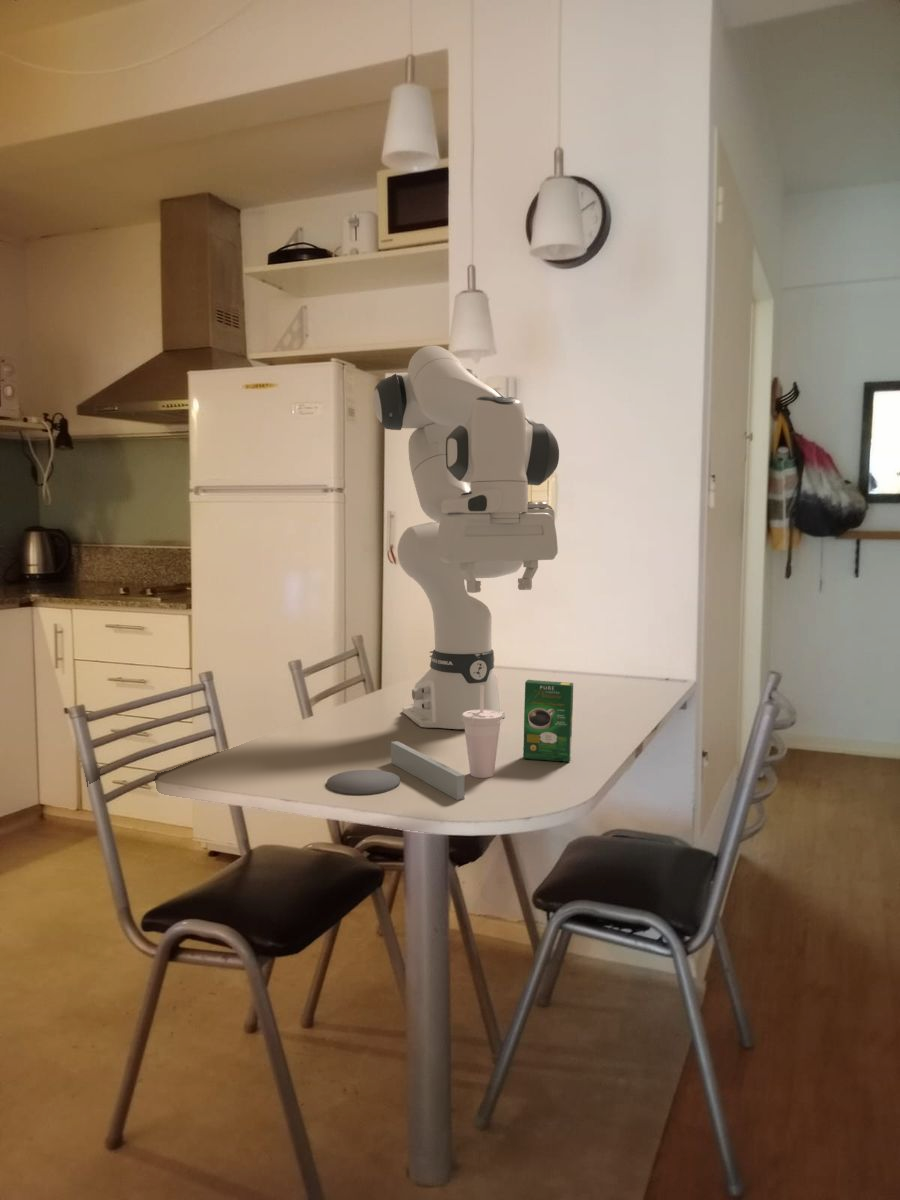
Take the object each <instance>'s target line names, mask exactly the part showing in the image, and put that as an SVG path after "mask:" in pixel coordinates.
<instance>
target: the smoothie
mask: <svg viewBox="0 0 900 1200" xmlns="http://www.w3.org/2000/svg"><path fill="white" fill-rule="evenodd" d="M462 721H463V722H464V727H465V729H464V734H465V741H466V748H467V749H466V751H467V757H468V765H469V773H470V776H471V777H474V778H478V779H479V778H480V779H487V778H492V777H494V776H495V768H496V761H497V760H496V759H497V752H498V744H499V735H500V729H501V728H500V727H501V722H502V721H503V718H502V713H500V712H498V711H494V710H484V686H483V685H481V686H480V710H470V711H466V712H464V713H462Z"/></svg>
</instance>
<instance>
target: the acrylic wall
mask: <svg viewBox="0 0 900 1200" xmlns="http://www.w3.org/2000/svg"><path fill="white" fill-rule="evenodd" d="M390 762H391V764H393V765H395V766H396V767H398V768H400V769H401V770H403V771H405V772H407V773H408V774H410V775H412V776H414V777H416V778H417V779H419V780H421V781H423V782H424V783H426V784H428V785H430V786H431V787H433V788H435V789H436V790H439V791H440V792H442V793H444V794H445V795H448V796H449V797H451V798H453V799H454V800H456V801H460V800H465V774H463V773H461V772H459V771H458V770H456V769H454V768H451V767H449V766H447V765H446V764H444V763H442V762H439V761H438V760H436V759H435V758H434V759H433V758H432V757H430V756H428V755H426V754H424V753H421V752H420V751H419V750H417V749H414V748H412V747H410V746H409V745H406V744H404V743H402V742H400V741H399V740H395V741H390Z"/></svg>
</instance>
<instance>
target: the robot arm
mask: <svg viewBox="0 0 900 1200" xmlns="http://www.w3.org/2000/svg"><path fill="white" fill-rule="evenodd" d="M372 408H373V410H374V414H375V416H376V418H377V420H378V421H379V424H380V425H381V426H382V427H383V428H384V429H385V430H390V431H401V430H402V429H415V430H414V431H413V432H412V433H411V434H410V436H409V439H408V460H409V466H410V471H411V476H412V480H413V483H414V487H415V490H416V495H417V499H418V502H419V504H420V508H421V509H422V511H423V513H424V514H425V515H426V516H427V517H429V519H430V520H432V521H433V522H432V521H431V522H427V523H421V524H417V525H413V526H409V527H407V528H406V529H405V530H404V532H403V533H402V535H401V536H400V538H399V541H398V545H397V558H398V563H399V565H400V567H401V568H402V571H404V573H405V574H406V575H408V577H410V578H412V579H413V580H414V581H415V582H416V583H417V584H418V585H419V586H420V587H421V589H422V590H423V591H424V594H425V595H426V597H427V599H428V601H429V604H430V607H431V611H432V618H433V630H434V633H433V634H434V649H433V650H431V651H429V653H430V654H431V655H429V658H430V663H429V667H430V669H429V670H428V671H427V672H426V673H425V674H424V675H423V676H422V677H421V678H420V679H419V680H418V681H417V682H416V683H415V684H414V688H413V689H412V690H411V698H412V700H413V703H412V704H409V705H405V706H403V707H402V711H401V712H402V713H403V714H404V715H406V717H408V718H409V719H410V720H411V721H412V722H414V723H415V724H416V725H418V726H419V727H420V728H436V729H437V728H439V729H447V730H448V729H449V730H451V729H453V730H465V727H464V722H463V721H462V713H464V712H466V711H470V710H480V686H481V685H483V686H484V710H494V711H498V712H500V713H502V719H503V718H505V717H506V712H505V710H501V699H500V687H499V678H498V676H497V675H496V674H495V673H494V671H493V669H495V655H494V654H495V653H494V650H493V649H492V613H491V611H490V609H489V608H488V606H487V605H486V604H485V603H484V602H483V601H482V600H479V599H478V598H476V597H473V596H471V595H470V594H475V593H481V590H482V588H481V586H482V583H481V580H477V579H491V578H492V579H493V578H494V579H495V578H499V577H503V576H506V575H511V574H514V573H516V572H518V571H519V569H521V567H522V566H523V568H525V570H524V571H523V574H522V576H521V577H522V578H521V577H520V578H517V588H518V590H519V591H520V590H521V591H528V590H529V591H531V590H532V589H533V588H532V587H533V585H532V584H533V582H532V581H533V579H534V576H535V575H536V573H537V570H538V568H539V561H552V560H555V558H556V556H557V555H558V553H559V552H558V551H559V550H558V549H559V548H558V536H557V530H556V524H555V520H556V519H555V517H556V516H555V515H556V513H555V510H554V508H553V507H552V506H551V505H549V504H548V503H547V502H545V501H538V502H535V501H528V497H529V496H528V494H529V492H528V487H529V485H530V486H540V485H542V484H543V483H544V482H545V481H547V480H548V479H549V478H550V477H551V476H552V475H553V474H554V472H555V471H556V470H557V467H558V466H559V465H558V464H559V461H560V448H559V443H558V441H557V438H556V437H555V435H554V433H553V432H552V431H551V430H550V429H549V428H548V426H547V425H545V424H544V423H538V422H537V423H536V422H535V421H534V420H532V419H531V418H530V417H529V416H528V415H527V414H526V413H525V410H524V409H525V408H524V405H523V402H522V401H521V400H519V399H518V398H515V397H512V396H511V397H510V396H506V395H505V394H503V393H501V392H500V391H498V390H497V389H495V388H492V387H491V386H489V385H487V384H486V383H484V381H482V380H480V379H479V378H478V376H477V374H476V373H475V372H474V371H473V370H472V369H469V368H466V367H465V365H464V364H463V363H462V362H461V361H460V360H459V359H458V357H457V356H455V355H454V354H453V353H452V352H451V351H449V350H448V349H446V348H444V347H442V346H440V345H427V346H424V347H421V348H420V349H418V350H417V351H416V352H415V353H414V354H412V356H411V358H410V360H409V362H408V367H407V373H403V374H397V373H394V374H393V375H391V376H388V377H386V378H384V379H382V380H380V381H378V383H377V384H376V385H375V387H374V393H373V398H372ZM465 581H466V585H465Z"/></svg>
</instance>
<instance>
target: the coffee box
mask: <svg viewBox="0 0 900 1200" xmlns="http://www.w3.org/2000/svg"><path fill="white" fill-rule="evenodd" d="M524 685H525V686H524V707H523V708H524V713H523V717H524V718H523V748H522V749H523V750H522V751H523V755H522V757H523V758H522V759H525V760H528V759H529V760H532V761H537V760H538V761H550V762H551V761H552V762H553V761H554V762H557V761H563V763H570V762H571V759H572V743H573V742H572V741H573V739H572V737H573V735H572V734H573V732H572V731H573V710H574V708H573V707H574V706H573V705H574V683H573V682H564V681H549V680H538V679H537V680H535V679H527V680H526V681H525V683H524Z"/></svg>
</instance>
